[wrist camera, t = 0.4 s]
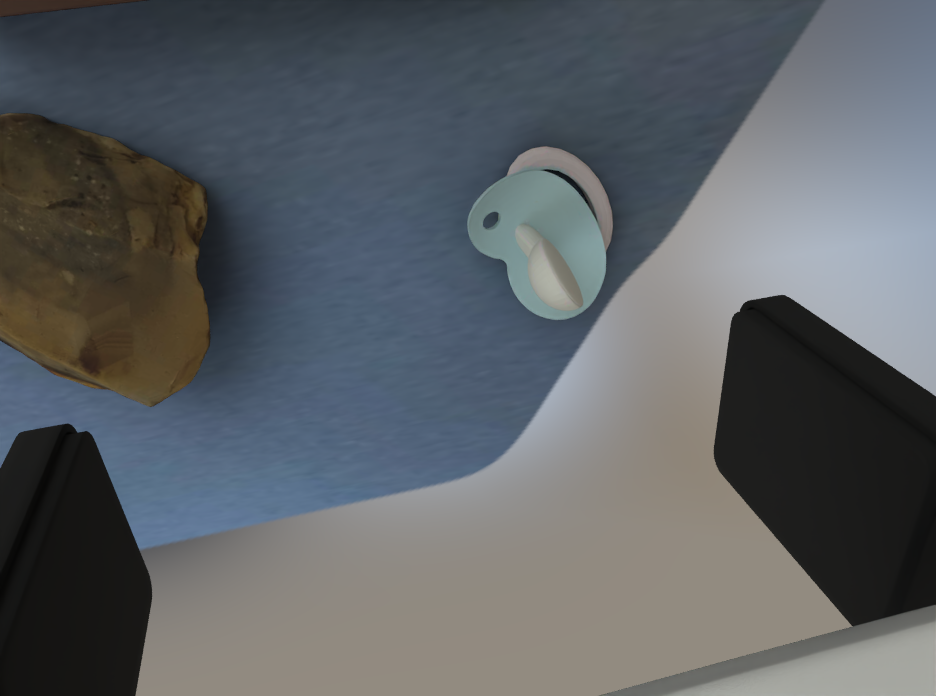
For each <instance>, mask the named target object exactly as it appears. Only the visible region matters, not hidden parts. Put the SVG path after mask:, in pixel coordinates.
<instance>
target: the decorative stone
mask: <svg viewBox="0 0 936 696" xmlns="http://www.w3.org/2000/svg"><path fill="white" fill-rule="evenodd" d="M207 212H208V202H207V193H206V189H205V187H203V186H202V185H201V184H199V183H197V182H195V181H193V180H191V179H190V178H188V177H186V176H184V175H183V174H181V173H179V172H178V171H176V170H174V169H172V168H170V167H168V166H165V165H163V164H162V163H160V162H158V161H156V160H154V159H152V158H150V157H147V156H143V155H140V154H138V153H136V152H134V151H132V150H130V149H128V148H127V147H126V146H124V145H123V144H122V143H120V142H118V141H116V140H114V139H112V138H109V137H104V136H100V135H97V134H95V133H91V132H88V131H84V130H80V129H76V128H73V127H71V126H68V125H65V124H57V123H54V122H52V121H49V120H48V119H46V118H45V117H43V116H40V115H35V114H28V113H7V114H2V115H0V341H2V342H4V343H5V344H7V345H9V346H10V347H12V348H14V349H16V350H17V351H19V352H21V353H23V354H24V355H25V356H27V357H28V358H30V359H32V360H34V361H35V362H37V363H38V364H39V365H41V366H42V367H44V368H45V369H47V370H48V371H50V372H51V373H53V374H55V375H57V376H60V377H63V378H66V379H69V380H72V381H75V382H78V383H80V384H83V385H86V386H88V387H91V388H97V389H108V390H112V391H115V392H117V393H119V394H121V395H123V396H125V397H127V398H130V399H133V400H135V401H137V402H140V403H142V404H144V405H146V406H149V407H152V406H154V405H156V404H158V403H160V402H162V401H163V400H164V399H166V398H167V397H169V396H171V395H172V394H174V393H175V392H177V391H179V390H181V389H182V388H183V387H185V386H186V385H188V384H189V383H190V382H191V381H192V380H193V378H194V377H195V375H196V374H197V372H198V370H199V368H200V366H201V363H202V361H203V358H204V356H205V354H206V352H207V350H208V348H209V345H210V323H209V316H208V308H207V303H206V300H205V297H204V292H203V288H202V285H201V283H200V281H199V279H198V275H197V263H198V257H199V253H200V250H199V242H200V239H201V237H202V234H203V231H204V229H205V225H206V222H207Z"/></svg>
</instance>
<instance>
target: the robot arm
mask: <svg viewBox="0 0 936 696" xmlns="http://www.w3.org/2000/svg"><path fill="white" fill-rule="evenodd" d="M714 459H715V462H716V465H717V467H718V469H719V471H720V473H721V474H722V475H723V476H724V477H725V479H726V480H727V481H728V482H729V483H730V484H731V486H732V487H733V488H734V489H735V490H736V491H737V493H738V494H739V495H740V496H741V497H742V498H743V499H744V501H745V502H746V503H747V504H748V505H749V506H750V508H751V509H752V510H753V511H754V512H755V514H756V515H757V516H758V517H759V518H760V519H761V520H762V521H763V523H764V524H765V525H766V526H767V527H768V528H769V530H770V531H771V532H772V533H773V534H774V536H775V537H776V538H777V539H778V540H779V541H780V543H781V544H782V545H783V546H784V547H785V548H786V550H787V551H788V552H789V553H790V554H791V555H792V557H793V558H794V559H795V560H796V561H797V562H798V564H799V565H800V566H801V567H802V568H803V569H804V570H805V572H806V573H807V574H808V575H809V576H810V577H811V579H812V580H813V581H814V582H815V583H816V584H817V586H818V587H819V588H820V589H821V590H822V591H823V593H824V594H825V595H826V596H827V597H828V598H829V599H830V601H831V602H832V603H833V604H834V605H835V607H836V608H837V609H838V610H839V611H840V612H841V614H842V615H843V616H844V617H845V618H846V619H847V620H848V622H849V623H850V624H851V625H852V626H853V627H849V628H846V629H842V630H839V631H835V632H831V633H827V634H824V635H820V636H816V637H812V638H809V639H805V640H801V641H798V642H794V643H790V644H786V645H783V646H779V647H775V648H772V649H768V650H764V651H760V652H757V653H753V654H749V655H746V656H742V657H738V658H735V659H731V660H727V661H724V662H720V663H716V664H713V665H709V666H705V667H702V668H698V669H695V670H691V671H687V672H684V673H680V674H676V675H673V676H669V677H665V678H662V679H659V680H655V681H651V682H647V683H644V684H640V685H637V686H633V687H629V688H625V689H622V690H618V691H615V692H611V693H607V694H604V695H600V696H936V396H934V395H933V394H932V393H930V392H929V391H927V390H926V389H924V388H923V387H921V386H920V385H918V384H917V383H915V382H914V381H912V380H911V379H909V378H908V377H906V376H905V375H903V374H902V373H900V372H899V371H897V370H896V369H894V368H893V367H892V366H890V365H888V364H887V363H886V362H884V361H883V360H881V359H880V358H878V357H877V356H875V355H874V354H872V353H871V352H869V351H868V350H866V349H865V348H863V347H862V346H860V345H859V344H857V343H856V342H855V341H853V340H852V339H850V338H848V337H847V336H846V335H844V334H843V333H841V332H839V331H838V330H837V329H835V328H834V327H832V326H831V325H829V324H828V323H826V322H825V321H823V320H822V319H820V318H819V317H817V316H816V315H815V314H813V313H811V312H810V311H809V310H807V309H805V308H804V307H803V306H801V305H800V304H798V303H797V302H795V301H794V300H792V299H791V298H789V297H787V296H785V295H778V296H772V297H767V298H761V299H756V300H750V301H747V302H745V303H744V304H743V306H742V307H741V309H740V312H737V313H736V314H734V316H733V318H732V321H731V327H730V334H729V342H728V349H727V356H726V364H725V371H724V378H723V385H722V393H721V400H720V407H719V415H718V422H717V430H716V437H715V445H714ZM151 602H152V587H151V581H150V576H149V573H148V570H147V568H146V565H145V563H144V560H143V558H142V556H141V553H140V551H139V548H138V546H137V543H136V541H135V538H134V536H133V533H132V531H131V529H130V526H129V524H128V521H127V519H126V516H125V514H124V511H123V509H122V506H121V504H120V502H119V499H118V497H117V494H116V492H115V489H114V487H113V484H112V482H111V480H110V477H109V475H108V472H107V470H106V467H105V465H104V462H103V460H102V457H101V455H100V453H99V450H98V448H97V445H96V443H95V440H94V438H93V436H92V435H91V434H90V433H89V432H87V431H85V432H79V433H77V431H76V429H75V428H74V427H73V426H72V425H70V424H62V425H57V426H51V427H46V428H40V429H34V430H29V431H24V432H21V433H19V434H18V436H17V437H16V438H15V440H14V442H13V444H12V446H11V448H10V450H9V452H8V454H7V456H6V458H5V460H4V462H3V464H2V466H1V468H0V696H135V694H136V688H137V683H138V677H139V671H140V666H141V660H142V654H143V648H144V642H145V637H146V631H147V625H148V619H149V614H150V608H151Z"/></svg>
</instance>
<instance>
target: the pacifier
mask: <svg viewBox="0 0 936 696" xmlns="http://www.w3.org/2000/svg"><path fill="white" fill-rule="evenodd" d="M544 169H551V170H556V171H560V172H562V173H564V174H566V175H568V176H569V177H570V178H571V179H572V180H574V181H575V183H576V184H577V185H578V186H579V187H580V189H581V190H582V191H583V193H584V195H585V197H586V199H587V200H588V203H589V206H590V208H589V207H588V205H587V204H586V202H585V201H584V199H583V198H582V197H581V196H580V194H579V193H578V192H577V191H576V190H575V189H574V188H573V187H572V186H571V185H570V184H569V183H567V182H566V181H565V180H564V179H562V178H560V177H558V176H556V175H554V174H552V173H549V172H546V171H543V170H544ZM590 209H591V210H590ZM491 212H498V214H499V216H498V221H497V223H496V224H495V225H494V226H492V227H490V228H485V227H483V220H484V218H485V217H486V216H487V215H488V214H489V213H491ZM467 228H468V233H469V237H470V239H471V241H472V243H473V245H474V246H475V247H476V248H477V249H478V250H479V251H480V252H481V253H483V254H485V255H486V256H489V257H492V258H495V259H501V260H503V261H504V262H505V263H506V264H507V273H508V277H509V281H510V285H511V287H512V289H513V291H514V294H515V295H516V296H517V298H518V299H519V301H520V302H521V303H522V304H523V305H524V306H525V307H526V308H527V309H528V310H530V311H531V312H533V313H535V314H536V315H538V316H541V317H544V318H547V319H554V320H562V319H568V318H571V317H575V316H576V315H578V314H580V313H582V312H583V311H584V310H585V309H587V308H588V307H589V306H590V305H591V303H592V302H593V301H594V300H595V298H596V296H597V294H598V293H599V291H600V288H601V285H602V283H603V280H604V276H605V273H606V253H605V252H606V250H607V248H608V246H609V244H610V242H611V236H612V230H613V221H612V210H611V207H610V203H609V200H608V197H607V194H606V192H605V190H604V188H603V186H602V184H601V183H600V181H599V179H598V178H597V177H596V175H595V174H594V173H593V172H592V171H591V169H590V168H589V167H588V166H587V165H586V164H585V163H583V162H582V161H581V160H580V159H578V158H577V157H576V156H574V155H572V154H570V153H568V152H566V151H564V150H562V149H558V148H552V147H546V146H544V147H538V148H532V149H530V150H528V151H526V152H524V153H523V154H521V155H519V156H518V158H517V159H516V160H515V161H514V162H513V164H512V165H511V166H510V169H509V171H508V174H507V176H506V177H504V178H502V179H501V180H499V181H497V182H496V183H494V184H493V185H492V186H490V187H489V188H488V189H487V190H486V191H485V192H484V193H483V194H482V195H481V196H480V197H479V198H478V199H477V201H476V202H475V203H474V205H473V207H472V209H471V211H470V213H469V217H468V221H467Z"/></svg>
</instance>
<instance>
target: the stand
mask: <svg viewBox="0 0 936 696" xmlns="http://www.w3.org/2000/svg"><path fill="white" fill-rule="evenodd" d="M138 1H147V0H0V17H5V16H14V15H23V14H32V13H41V12H49V11H58V10H67V9H76V8H85V7H94V6H102V5H111V4H120V3H129V2H138Z"/></svg>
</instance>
